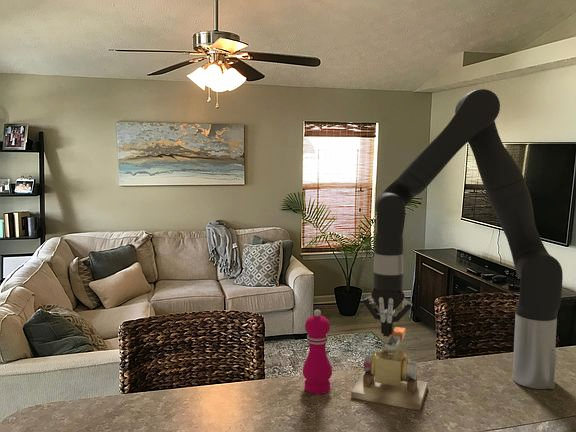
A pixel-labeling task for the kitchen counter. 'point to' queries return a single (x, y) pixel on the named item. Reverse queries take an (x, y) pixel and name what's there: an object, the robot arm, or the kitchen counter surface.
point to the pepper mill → (317, 355)
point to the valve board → (390, 392)
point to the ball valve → (390, 367)
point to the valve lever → (395, 339)
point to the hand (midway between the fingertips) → (386, 335)
